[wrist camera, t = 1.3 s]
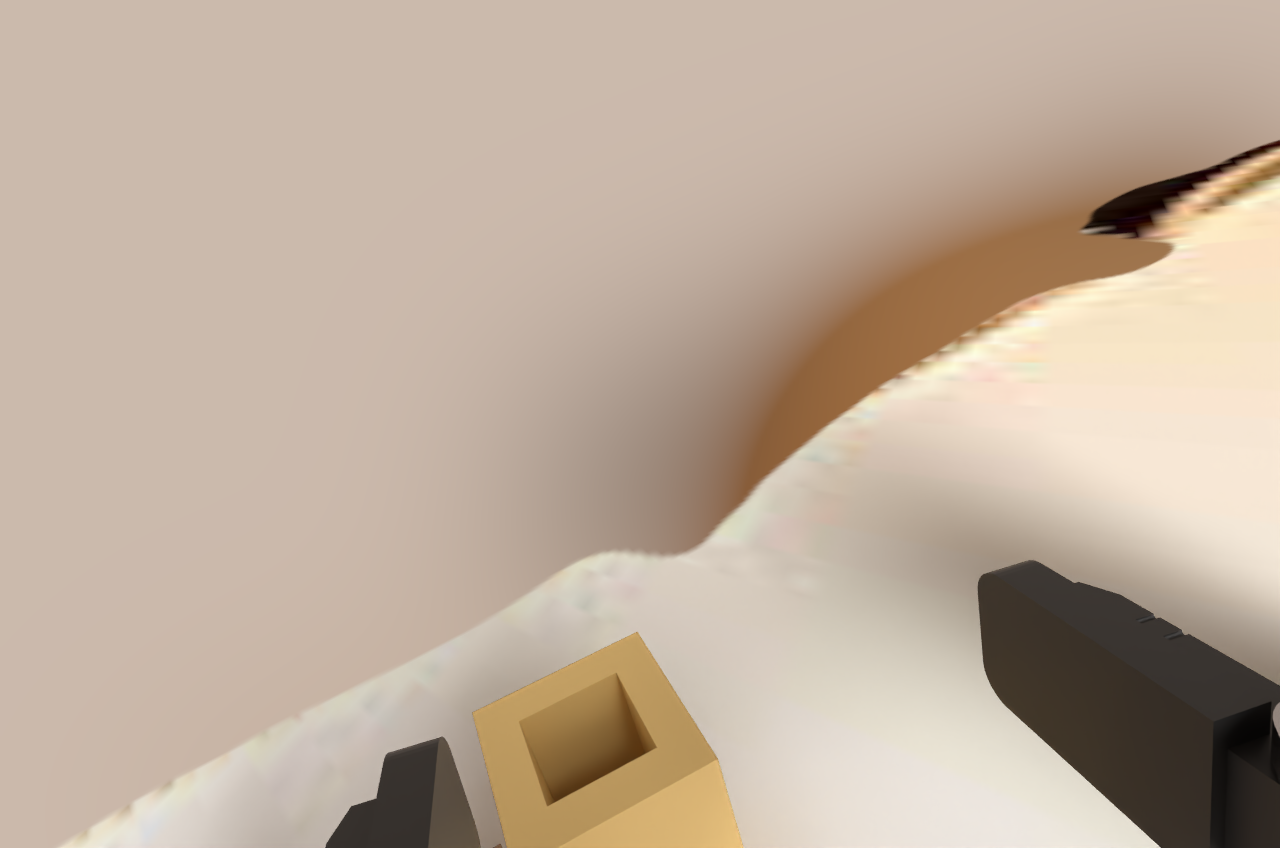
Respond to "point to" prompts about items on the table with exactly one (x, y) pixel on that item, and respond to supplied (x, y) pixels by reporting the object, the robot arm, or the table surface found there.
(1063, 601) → the robot arm
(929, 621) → the table surface
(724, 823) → the bead
